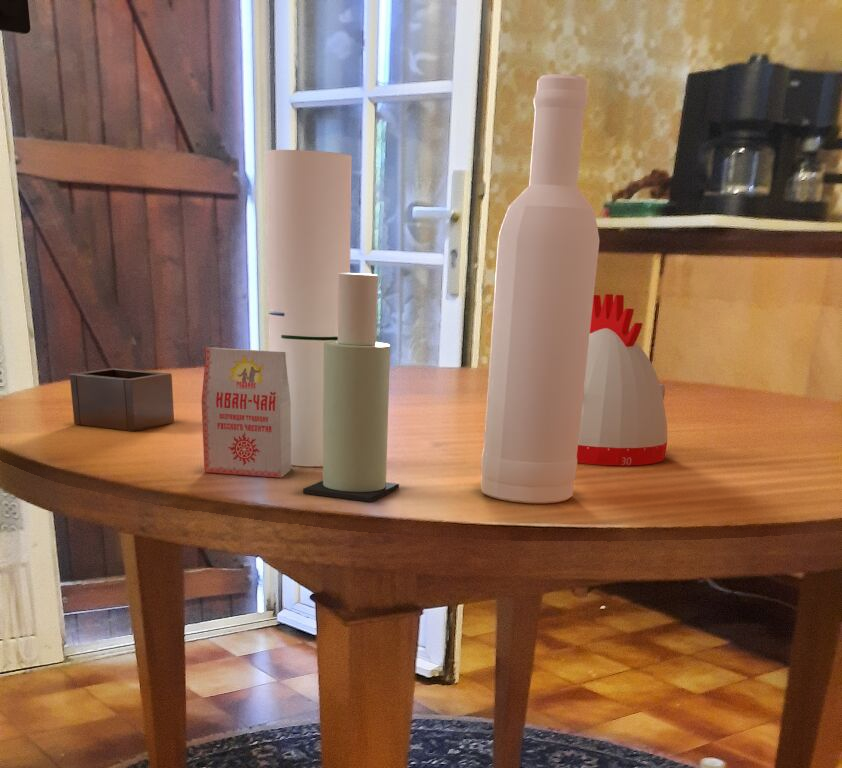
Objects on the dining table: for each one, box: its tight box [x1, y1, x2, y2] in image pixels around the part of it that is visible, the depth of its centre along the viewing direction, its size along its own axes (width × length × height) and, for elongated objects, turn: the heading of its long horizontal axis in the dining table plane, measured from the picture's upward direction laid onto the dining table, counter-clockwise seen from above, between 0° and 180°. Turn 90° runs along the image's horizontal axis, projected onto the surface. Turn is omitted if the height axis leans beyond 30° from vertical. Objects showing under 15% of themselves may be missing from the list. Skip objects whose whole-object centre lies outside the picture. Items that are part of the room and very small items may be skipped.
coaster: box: [302, 480, 400, 503], centre depth 88 cm, size 6×6×1 cm
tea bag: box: [201, 346, 292, 479], centre depth 91 cm, size 4×7×10 cm, turn 83°
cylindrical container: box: [265, 149, 353, 468], centre depth 94 cm, size 7×7×25 cm
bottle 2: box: [480, 73, 601, 504], centre depth 84 cm, size 8×8×30 cm
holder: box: [69, 367, 175, 432], centre depth 112 cm, size 7×7×5 cm
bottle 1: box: [322, 272, 391, 492], centre depth 85 cm, size 5×5×16 cm
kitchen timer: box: [577, 293, 668, 467], centre depth 107 cm, size 14×14×15 cm
